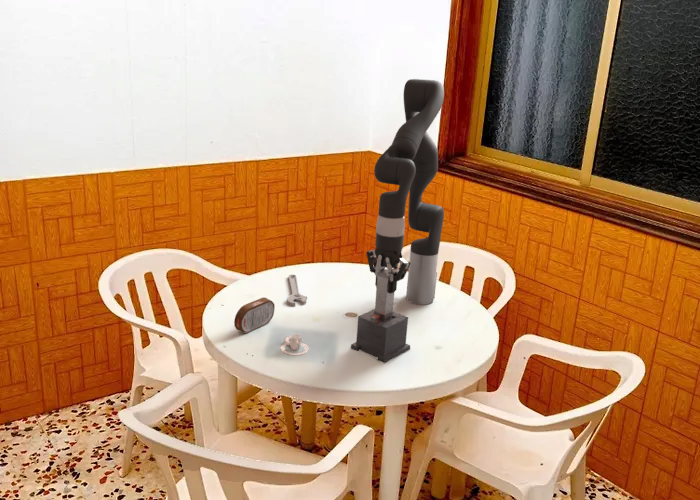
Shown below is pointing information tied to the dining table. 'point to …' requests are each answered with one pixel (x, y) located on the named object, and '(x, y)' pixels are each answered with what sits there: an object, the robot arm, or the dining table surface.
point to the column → (383, 297)
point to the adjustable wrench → (295, 292)
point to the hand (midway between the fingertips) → (385, 290)
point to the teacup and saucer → (294, 344)
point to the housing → (381, 336)
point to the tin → (254, 315)
